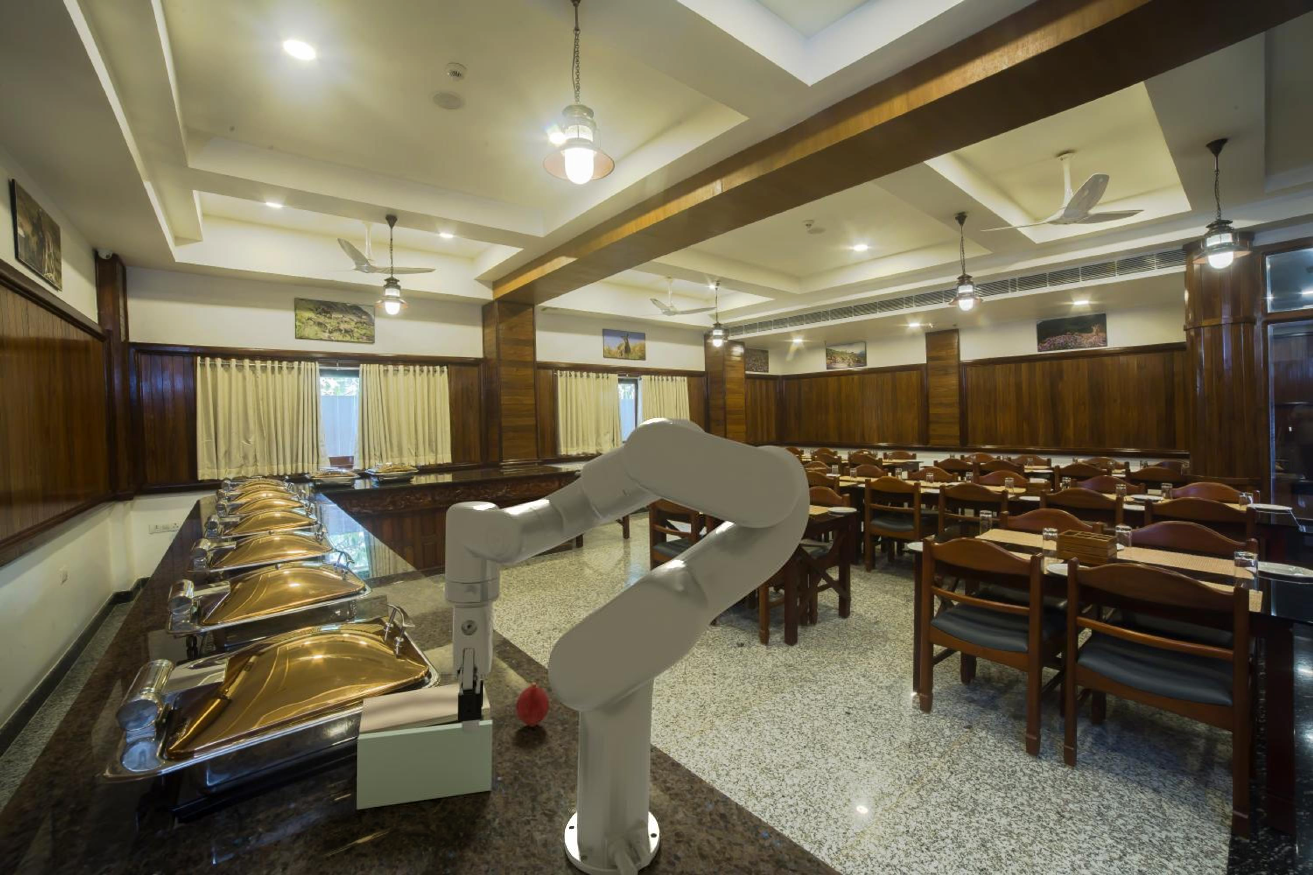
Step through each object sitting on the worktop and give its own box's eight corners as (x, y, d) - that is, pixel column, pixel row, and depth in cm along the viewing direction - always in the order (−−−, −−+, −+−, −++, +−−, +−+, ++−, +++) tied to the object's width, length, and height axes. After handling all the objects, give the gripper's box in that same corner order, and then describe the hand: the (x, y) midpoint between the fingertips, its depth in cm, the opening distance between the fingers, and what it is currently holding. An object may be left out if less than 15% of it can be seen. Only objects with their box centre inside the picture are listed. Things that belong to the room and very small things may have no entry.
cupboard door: (490, 797, 80) (492, 676, 79) (353, 818, 75) (354, 688, 74) (491, 784, 82) (493, 666, 82) (359, 803, 78) (360, 678, 77)
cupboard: (489, 773, 86) (490, 707, 85) (358, 804, 78) (359, 731, 78) (480, 738, 95) (482, 679, 94) (363, 763, 87) (363, 698, 87)
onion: (508, 729, 98) (509, 685, 98) (530, 714, 103) (531, 672, 103) (534, 738, 95) (535, 693, 95) (555, 722, 100) (556, 679, 100)
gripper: (497, 605, 72) (495, 742, 73) (501, 572, 88) (499, 685, 88) (436, 608, 70) (434, 749, 71) (451, 574, 86) (450, 689, 86)
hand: (470, 712), depth 80 cm, fingers closed on cupboard door, 2 cm apart
